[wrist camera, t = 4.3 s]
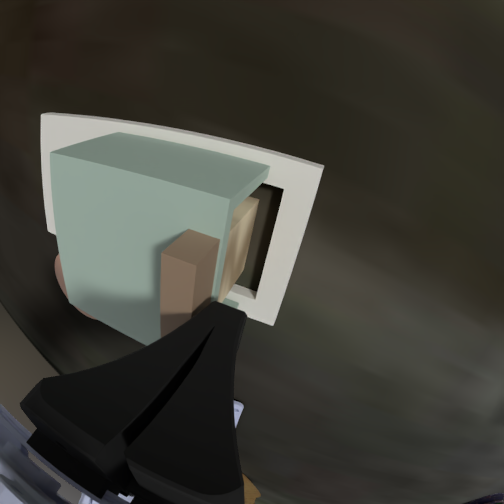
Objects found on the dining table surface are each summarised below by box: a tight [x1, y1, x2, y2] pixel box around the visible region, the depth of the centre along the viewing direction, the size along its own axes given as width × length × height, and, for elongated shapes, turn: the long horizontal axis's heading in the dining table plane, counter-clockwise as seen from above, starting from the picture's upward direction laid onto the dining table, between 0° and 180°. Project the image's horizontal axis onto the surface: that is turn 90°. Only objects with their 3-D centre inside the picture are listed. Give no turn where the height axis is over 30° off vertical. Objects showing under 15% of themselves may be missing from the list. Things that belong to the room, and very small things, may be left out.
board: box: [41, 113, 324, 326], centre depth 18 cm, size 10×20×1 cm, turn 78°
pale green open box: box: [50, 132, 270, 346], centre depth 14 cm, size 9×9×7 cm
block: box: [218, 196, 259, 303], centre depth 15 cm, size 4×4×5 cm
